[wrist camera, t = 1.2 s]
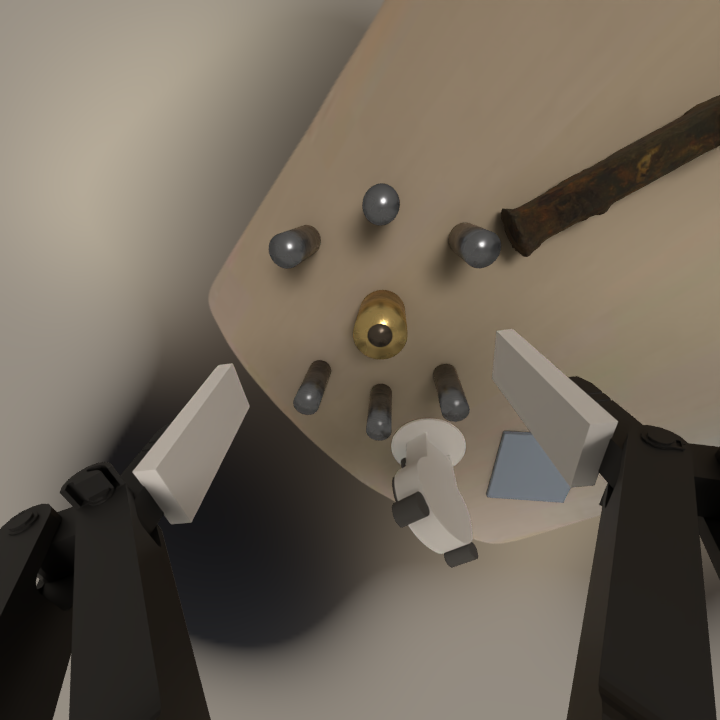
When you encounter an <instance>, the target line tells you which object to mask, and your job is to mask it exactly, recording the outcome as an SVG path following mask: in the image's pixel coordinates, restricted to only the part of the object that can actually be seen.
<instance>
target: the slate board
mask: <svg viewBox="0 0 720 720" xmlns="http://www.w3.org/2000/svg"><path fill="white" fill-rule="evenodd" d="M569 490H570V486H569V485H568V484H567V482H566V481H565V479H564V478H563V477H562V475H561V474H560V472H559V471H558V470H557V468H556V467H555V465H554V464H553V463H552V461H551V460H550V459H549V457H548V456H547V454H546V453H545V452H544V450H543V449H542V447H541V446H540V445H539V443H538V442H537V441H536V439H535V438H534V436H533V435H532V434H531V432H513V431H504V432H503V435H502V439H501V443H500V446H499V450H498V454H497V457H496V461H495V465H494V468H493V472H492V476H491V479H490V483H489V487H488V490H487V497H490V498H504V499H519V500H533V501H547V502H562V503H564V500H565V498H566V496H567V494H568V492H569Z"/></svg>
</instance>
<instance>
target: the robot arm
mask: <svg viewBox="0 0 720 720" xmlns="http://www.w3.org/2000/svg"><path fill="white" fill-rule="evenodd" d="M492 379H493V381H494V382H495V384H496V385H497V386H498V388H499V389H500V391H501V392H502V393H503V395H504V396H505V397H506V399H507V400H508V402H509V403H510V404H511V406H512V407H513V409H514V410H515V411H516V413H517V414H518V416H519V417H520V418H521V420H522V421H523V422H524V424H525V425H526V427H527V428H528V429H529V431H530V432H531V434H532V435H533V436H534V438H535V439H536V441H537V442H538V443H539V445H540V446H541V447H542V449H543V450H544V452H545V453H546V454H547V456H548V457H549V459H550V460H551V461H552V463H553V464H554V465H555V467H556V468H557V470H558V471H559V472H560V474H561V475H562V477H563V478H564V479H565V481H566V482H567V484H568V485H569V486H570V488H571V487H582V486H593V485H595V482H596V480H597V477H598V474H599V473H600V474H601V475H602V476H603V477H604V479H605V480H606V481H607V482H608V484H607V486H606V489H605V491H604V494H603V496H602V499H601V501H600V504H599V505H601V506H602V512H601V518H600V524H599V530H598V535H597V542H596V548H595V554H594V559H593V565H592V571H591V577H590V583H589V589H588V595H587V601H586V608H585V613H584V619H583V625H582V632H581V637H580V643H579V649H578V655H577V661H576V668H575V673H574V679H573V685H572V691H571V696H570V702H569V708H568V714H567V720H717V719H716V708H715V697H714V686H713V677H712V665H711V654H710V644H709V633H708V622H707V611H706V601H705V590H704V579H703V568H702V558H701V548H700V537H701V539H702V541H703V544H704V546H705V548H706V550H707V552H708V555H709V557H710V559H711V562H712V563H713V566H714V568H715V570H716V573H717V575H718V577H719V579H720V447H715V446H706V445H698V444H689V443H687V442H686V441H685V440H684V439H683V438H681V437H680V436H678V435H676V434H674V433H673V432H671V431H668V430H665V429H663V428H660V427H655V426H649V425H642V424H641V423H640V422H639V421H637V420H636V419H635V418H634V417H633V416H631V415H630V414H629V413H628V412H626V411H625V410H624V409H623V408H621V407H620V406H619V405H618V404H617V403H615V402H614V401H613V400H612V401H611V399H610V398H609V397H608V396H607V395H606V394H604V393H602V391H601V390H599V389H598V388H597V387H596V386H595V385H593V384H592V383H590V382H588V381H586V380H584V379H582V378H580V377H577V376H576V377H567V376H566V375H565V374H564V373H562V372H561V371H560V370H559V369H558V368H557V367H556V366H555V365H553V364H552V363H551V362H550V361H549V360H548V359H547V358H545V357H544V356H543V355H542V354H541V353H540V352H539V351H537V350H536V349H535V348H534V347H533V346H532V345H531V344H530V343H528V342H527V341H526V340H525V339H524V338H523V337H522V336H520V335H519V334H518V333H517V332H516V331H515V330H514V329H507V330H499V331H497V332H496V342H495V352H494V363H493V373H492ZM249 407H250V406H249V404H248V401H247V399H246V396H245V393H244V391H243V388H242V386H241V383H240V381H239V378H238V376H237V373H236V371H235V368H234V366H233V364H224V365H218V366H217V367H216V369H215V370H214V371H213V372H212V373H211V375H210V376H209V377H208V378H207V380H206V381H205V382H204V383H203V385H202V386H201V387H200V388H199V390H198V391H197V392H196V393H195V395H194V396H193V397H192V399H191V400H190V401H189V402H188V403H187V405H186V406H185V407H184V408H183V409H182V411H181V412H180V413H179V414H178V416H177V417H176V418H175V419H174V421H173V422H172V423H168V424H167V425H166V426H164V427H163V428H162V429H160V430H159V431H158V432H156V434H155V435H154V436H153V437H152V438H151V440H150V441H149V444H147V445H146V446H145V447H144V448H143V449H142V452H140V453H139V454H138V455H137V456H136V458H135V459H134V460H133V461H132V462H131V464H130V465H129V466H128V467H127V468H126V470H125V471H124V472H123V473H122V474H121V476H120V475H119V474H118V473H117V472H116V470H115V469H114V467H113V466H112V465H111V464H110V463H108V462H101V463H96V464H94V465H91V466H88V467H86V468H85V469H83V470H81V471H79V472H78V473H76V474H75V475H74V476H72V477H71V478H70V479H68V481H67V482H66V483H65V484H64V485H63V486H62V488H61V491H60V493H61V494H62V496H63V497H65V499H66V500H67V501H68V502H69V503H70V504H71V505H72V506H73V507H71V508H68V509H66V510H62V511H60V512H56V511H55V510H54V509H53V508H52V507H51V506H50V505H49V504H40V505H36V506H33V507H31V508H29V509H27V510H24V511H22V512H21V513H19V514H18V515H16V516H14V517H13V518H11V519H10V521H8V522H7V523H6V524H5V525H4V526H2V528H1V529H0V720H52V719H53V716H54V712H55V708H56V705H57V701H58V698H59V694H60V691H61V688H62V684H63V680H64V677H65V673H66V670H67V666H68V663H69V659H70V656H71V682H70V709H69V712H70V713H69V720H211V719H210V715H209V711H208V707H207V704H206V700H205V696H204V692H203V688H202V684H201V680H200V676H199V673H198V669H197V665H196V661H195V657H194V654H193V649H192V645H191V641H190V638H189V634H188V630H187V626H186V622H185V619H184V615H183V610H182V607H181V603H180V599H179V595H178V591H177V587H176V583H175V580H174V576H173V572H172V568H171V564H170V560H169V556H168V553H167V549H166V545H165V541H164V537H163V533H162V530H161V528H160V527H159V526H158V522H159V521H160V519H161V517H162V515H163V514H164V515H165V517H166V518H167V520H168V521H169V522H170V523H171V524H178V523H189V522H192V519H193V518H194V516H195V514H196V512H197V510H198V508H199V506H200V504H201V502H202V500H203V498H204V496H205V494H206V492H207V490H208V488H209V486H210V484H211V482H212V480H213V478H214V476H215V474H216V472H217V470H218V468H219V466H220V464H221V462H222V460H223V458H224V456H225V454H226V453H227V451H228V449H229V447H230V445H231V443H232V440H233V439H234V437H235V435H236V433H237V431H238V429H239V427H240V424H241V423H242V421H243V419H244V417H245V415H246V413H247V411H248V409H249ZM699 535H700V536H699ZM36 578H39V582H38V584H37V586H36Z"/></svg>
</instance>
